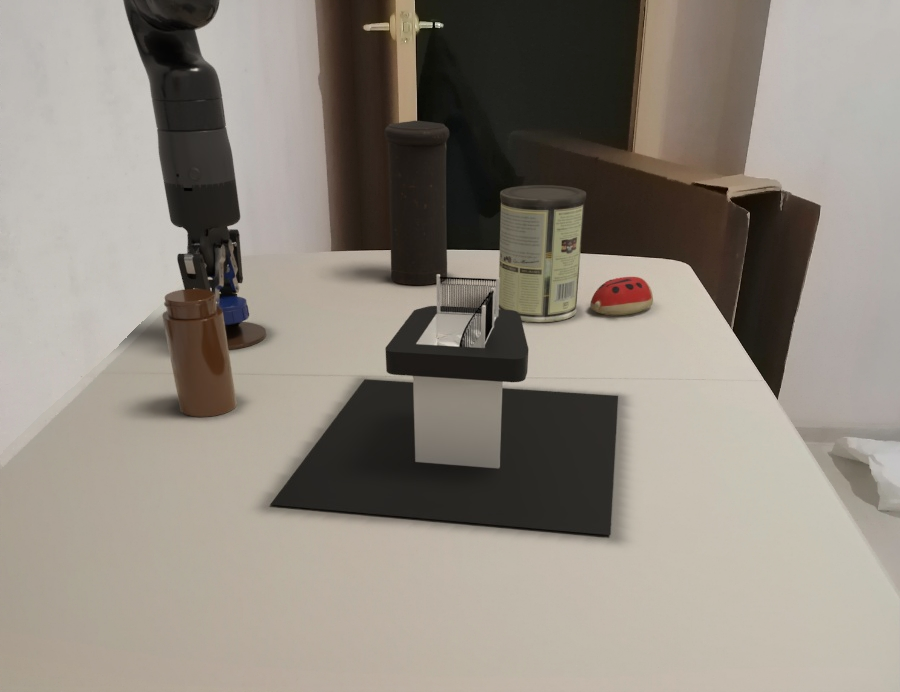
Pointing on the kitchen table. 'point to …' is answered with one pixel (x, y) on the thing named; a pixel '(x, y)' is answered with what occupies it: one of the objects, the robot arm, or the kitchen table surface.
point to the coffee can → (540, 251)
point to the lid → (233, 309)
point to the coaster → (244, 335)
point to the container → (417, 201)
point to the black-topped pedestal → (464, 432)
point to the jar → (199, 353)
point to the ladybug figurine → (622, 296)
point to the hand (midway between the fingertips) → (223, 332)
